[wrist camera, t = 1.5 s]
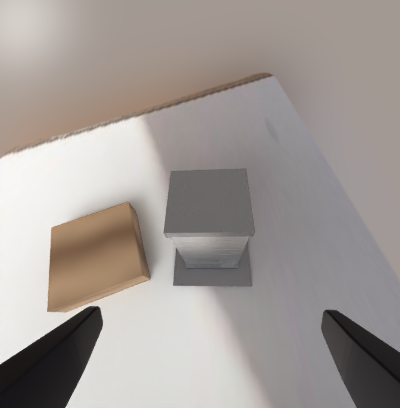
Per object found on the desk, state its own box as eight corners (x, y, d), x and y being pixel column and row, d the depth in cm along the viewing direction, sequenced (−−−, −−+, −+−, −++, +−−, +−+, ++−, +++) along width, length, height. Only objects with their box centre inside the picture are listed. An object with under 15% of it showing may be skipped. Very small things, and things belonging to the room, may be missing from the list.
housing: (237, 269, 20) (254, 231, 11) (186, 269, 20) (163, 233, 11) (234, 226, 22) (246, 168, 14) (188, 227, 23) (170, 171, 14)
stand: (150, 279, 21) (142, 275, 18) (65, 312, 20) (47, 311, 17) (135, 211, 25) (128, 201, 23) (66, 235, 24) (51, 227, 22)
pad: (250, 286, 20) (251, 285, 19) (174, 285, 20) (173, 285, 20) (243, 216, 24) (243, 214, 23) (179, 217, 24) (178, 215, 24)
